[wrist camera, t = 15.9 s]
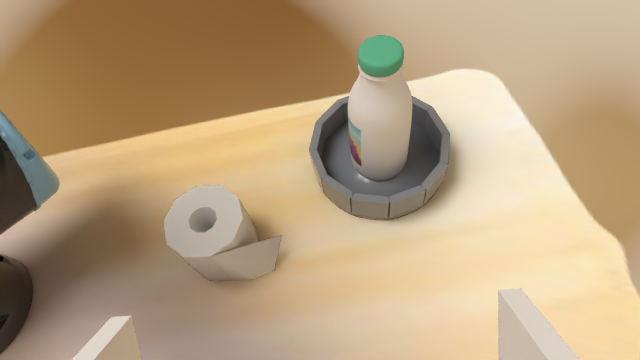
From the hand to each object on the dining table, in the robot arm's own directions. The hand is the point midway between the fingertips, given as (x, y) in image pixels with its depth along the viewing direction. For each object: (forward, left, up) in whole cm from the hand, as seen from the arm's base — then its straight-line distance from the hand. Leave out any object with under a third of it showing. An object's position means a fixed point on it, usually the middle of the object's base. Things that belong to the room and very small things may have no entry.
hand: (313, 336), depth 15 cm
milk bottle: (+14, +26, -35) cm, 46 cm away
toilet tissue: (-9, +21, -36) cm, 43 cm away
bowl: (+14, +27, -36) cm, 47 cm away
